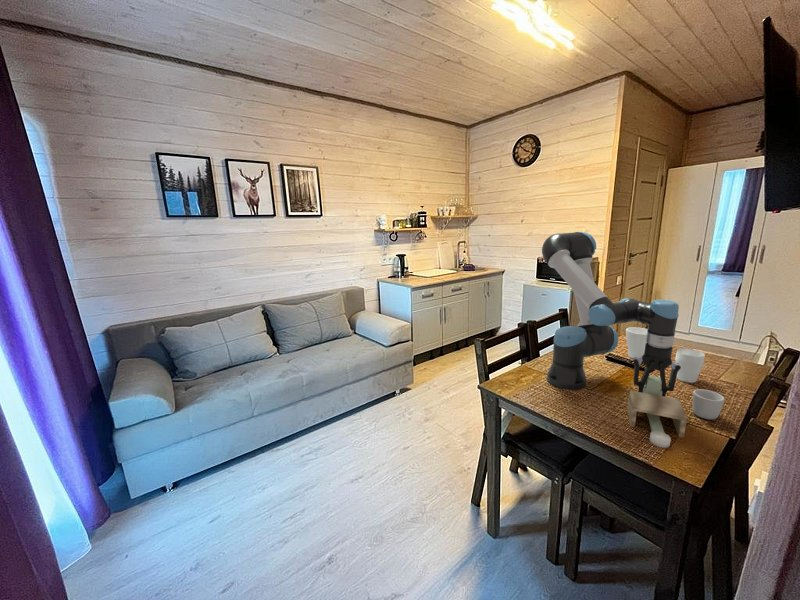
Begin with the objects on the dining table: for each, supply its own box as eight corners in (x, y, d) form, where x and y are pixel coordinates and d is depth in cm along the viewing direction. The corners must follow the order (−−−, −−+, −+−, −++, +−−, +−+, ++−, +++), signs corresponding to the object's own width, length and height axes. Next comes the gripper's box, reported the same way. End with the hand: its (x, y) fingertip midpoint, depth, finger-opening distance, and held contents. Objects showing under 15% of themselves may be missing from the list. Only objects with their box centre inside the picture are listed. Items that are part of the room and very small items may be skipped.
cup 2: (705, 384, 136) (710, 357, 133) (680, 383, 138) (684, 356, 135) (691, 374, 145) (696, 348, 142) (667, 373, 146) (671, 347, 143)
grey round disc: (651, 445, 103) (652, 438, 103) (647, 436, 108) (648, 429, 107) (671, 449, 101) (672, 442, 101) (667, 439, 106) (668, 433, 105)
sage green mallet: (650, 434, 107) (655, 403, 105) (642, 402, 125) (646, 375, 122) (666, 437, 105) (671, 406, 103) (655, 404, 123) (659, 377, 120)
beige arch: (630, 426, 113) (632, 406, 111) (627, 408, 123) (629, 390, 121) (683, 437, 106) (687, 417, 104) (675, 417, 116) (679, 398, 114)
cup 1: (617, 354, 167) (620, 328, 164) (633, 351, 170) (636, 326, 167) (637, 362, 158) (641, 335, 154) (654, 359, 161) (658, 332, 157)
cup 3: (689, 403, 124) (692, 383, 122) (718, 410, 119) (723, 389, 117) (689, 417, 116) (693, 396, 114) (721, 425, 111) (725, 403, 109)
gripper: (630, 344, 118) (622, 404, 123) (693, 352, 109) (682, 415, 115) (628, 337, 124) (621, 394, 130) (688, 344, 116) (677, 404, 121)
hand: (649, 404), depth 122 cm, fingers closed on sage green mallet, 4 cm apart
